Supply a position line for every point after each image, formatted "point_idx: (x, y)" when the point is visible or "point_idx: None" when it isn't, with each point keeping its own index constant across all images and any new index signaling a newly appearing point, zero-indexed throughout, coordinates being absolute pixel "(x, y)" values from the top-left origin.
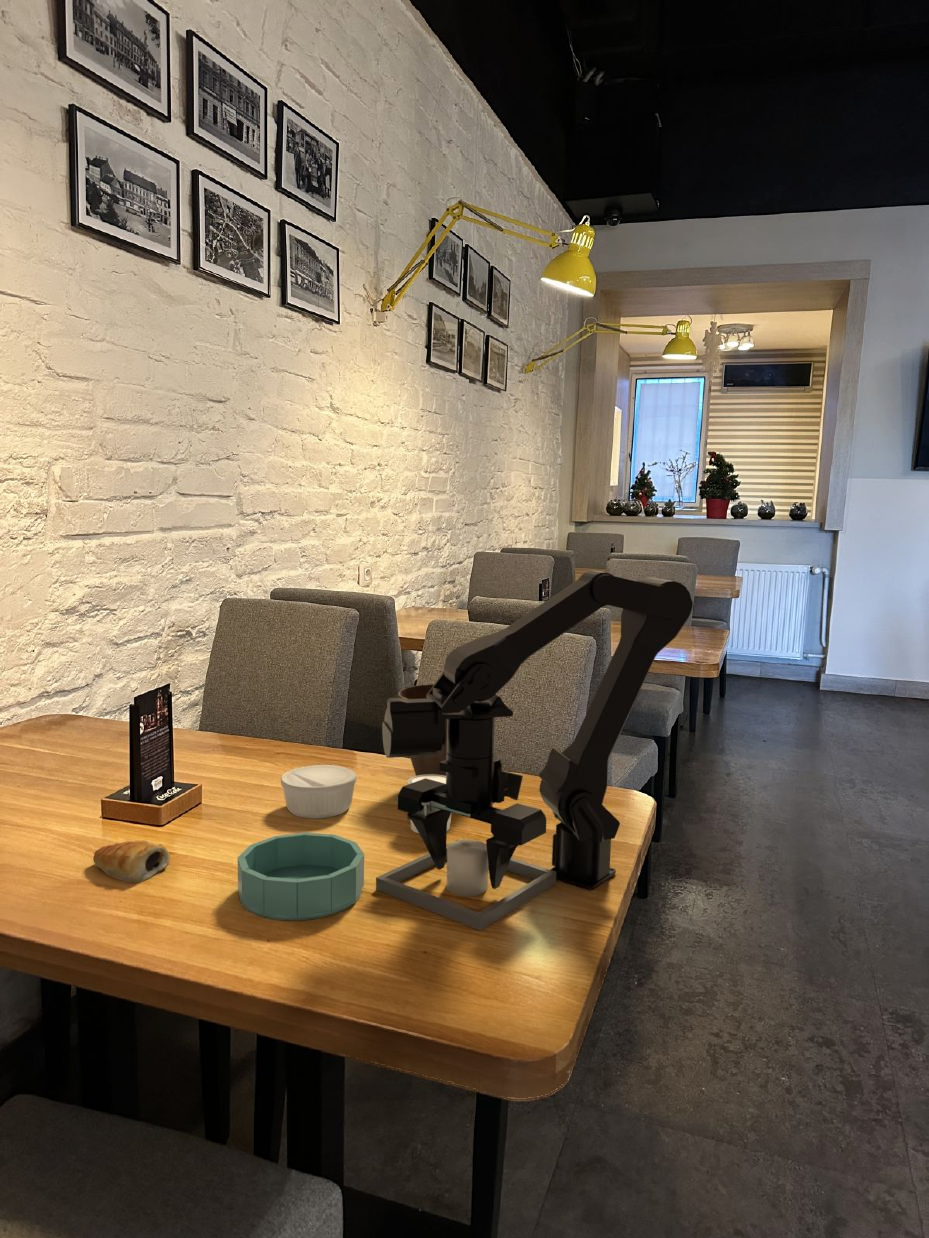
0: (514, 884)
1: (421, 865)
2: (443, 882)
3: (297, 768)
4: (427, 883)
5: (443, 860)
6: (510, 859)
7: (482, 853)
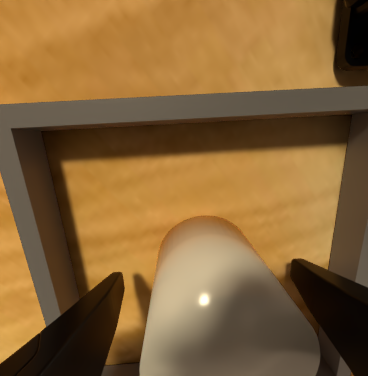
0: (283, 176)
1: (65, 287)
2: (151, 278)
3: None
4: (131, 302)
5: (116, 290)
6: (242, 111)
7: (314, 369)
